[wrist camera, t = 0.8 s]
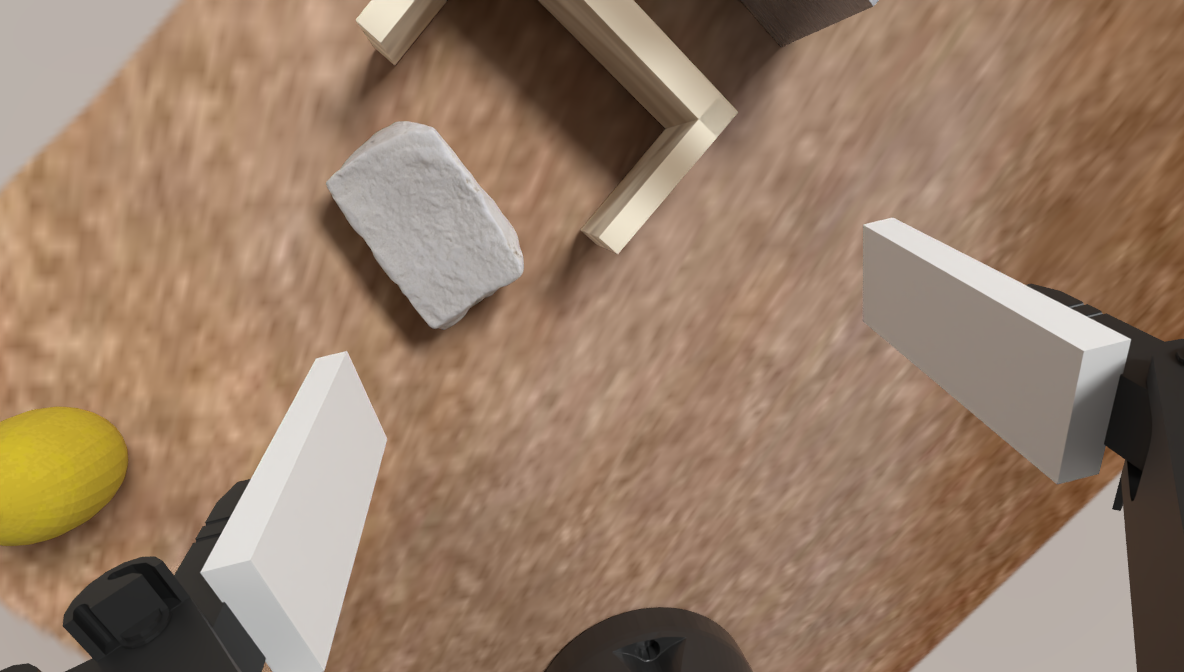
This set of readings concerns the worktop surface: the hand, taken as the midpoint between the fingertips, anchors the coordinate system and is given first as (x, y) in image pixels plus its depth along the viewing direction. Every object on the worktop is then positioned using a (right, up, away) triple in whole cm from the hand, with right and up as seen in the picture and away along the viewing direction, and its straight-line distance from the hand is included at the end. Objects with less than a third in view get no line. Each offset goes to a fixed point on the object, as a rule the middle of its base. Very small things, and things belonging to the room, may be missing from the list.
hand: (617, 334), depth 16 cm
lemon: (-26, -5, +16) cm, 31 cm away
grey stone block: (-9, +6, +17) cm, 20 cm away
